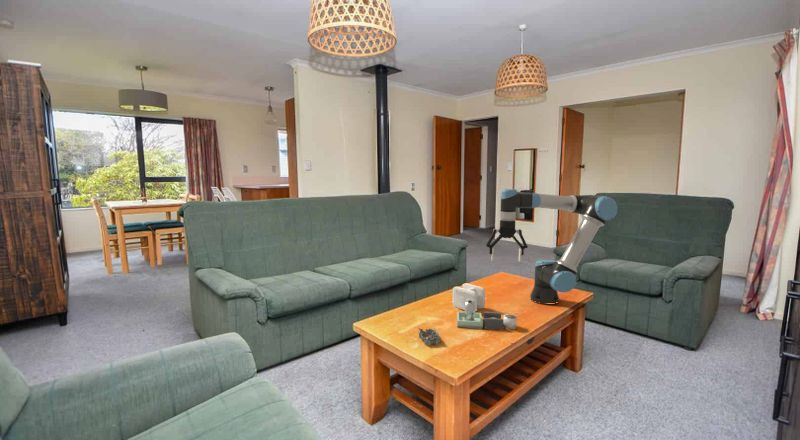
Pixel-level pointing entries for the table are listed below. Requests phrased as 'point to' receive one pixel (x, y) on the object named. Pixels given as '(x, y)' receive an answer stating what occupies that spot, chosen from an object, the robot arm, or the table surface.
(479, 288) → the cable organizer
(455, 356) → the table surface
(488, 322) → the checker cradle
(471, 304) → the steel cell
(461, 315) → the tray
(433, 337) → the dark grey lumpy ring
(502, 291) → the table surface
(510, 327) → the cup
